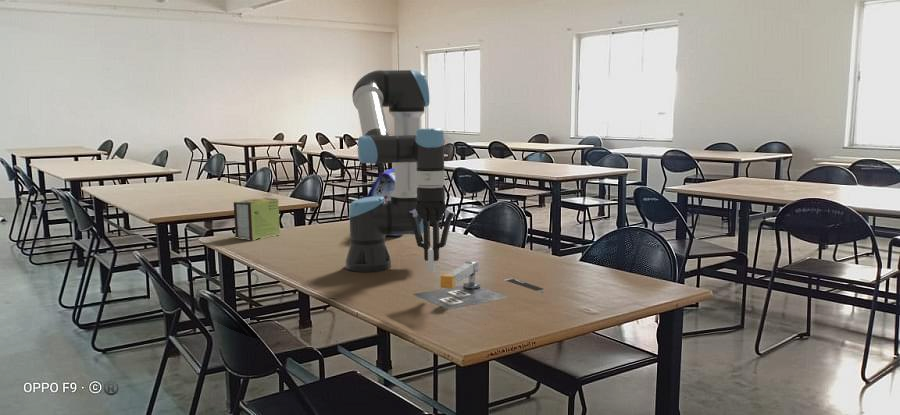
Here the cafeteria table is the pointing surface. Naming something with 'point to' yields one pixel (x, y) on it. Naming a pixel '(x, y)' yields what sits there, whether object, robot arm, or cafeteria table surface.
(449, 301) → the label
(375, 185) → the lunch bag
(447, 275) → the swing arm
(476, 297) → the board
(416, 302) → the cafeteria table surface
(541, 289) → the smartphone
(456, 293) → the label
